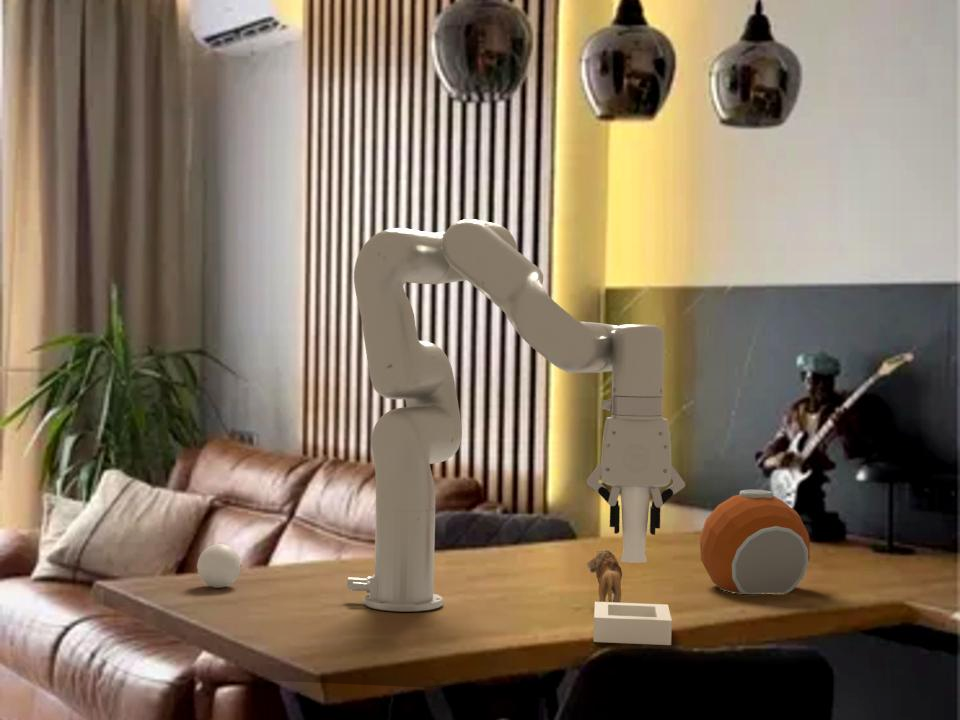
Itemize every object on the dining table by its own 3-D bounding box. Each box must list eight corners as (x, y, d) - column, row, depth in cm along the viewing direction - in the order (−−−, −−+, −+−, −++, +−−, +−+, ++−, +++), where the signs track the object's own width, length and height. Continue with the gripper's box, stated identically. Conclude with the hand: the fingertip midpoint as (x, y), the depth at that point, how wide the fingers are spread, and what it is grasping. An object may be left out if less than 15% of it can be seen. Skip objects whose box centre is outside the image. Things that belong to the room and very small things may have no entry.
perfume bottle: (646, 564, 201) (648, 460, 201) (616, 562, 203) (618, 459, 203) (653, 560, 205) (655, 458, 205) (624, 558, 207) (626, 457, 207)
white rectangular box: (593, 641, 199) (594, 617, 199) (594, 624, 211) (594, 601, 211) (671, 645, 198) (671, 620, 198) (667, 627, 210) (668, 604, 210)
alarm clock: (780, 579, 255) (783, 485, 255) (826, 597, 238) (829, 496, 238) (683, 581, 250) (685, 485, 250) (722, 600, 233) (725, 497, 233)
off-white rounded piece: (242, 591, 231) (243, 547, 231) (196, 591, 230) (197, 547, 230) (240, 580, 241) (240, 538, 241) (196, 581, 240) (197, 538, 240)
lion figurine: (584, 602, 229) (585, 547, 229) (616, 602, 230) (617, 547, 229) (601, 620, 214) (603, 562, 214) (635, 620, 215) (637, 562, 215)
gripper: (578, 408, 201) (576, 534, 201) (697, 411, 199) (694, 538, 200) (579, 406, 208) (577, 527, 209) (693, 408, 207) (691, 531, 207)
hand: (634, 531), depth 204 cm, fingers closed on perfume bottle, 4 cm apart
